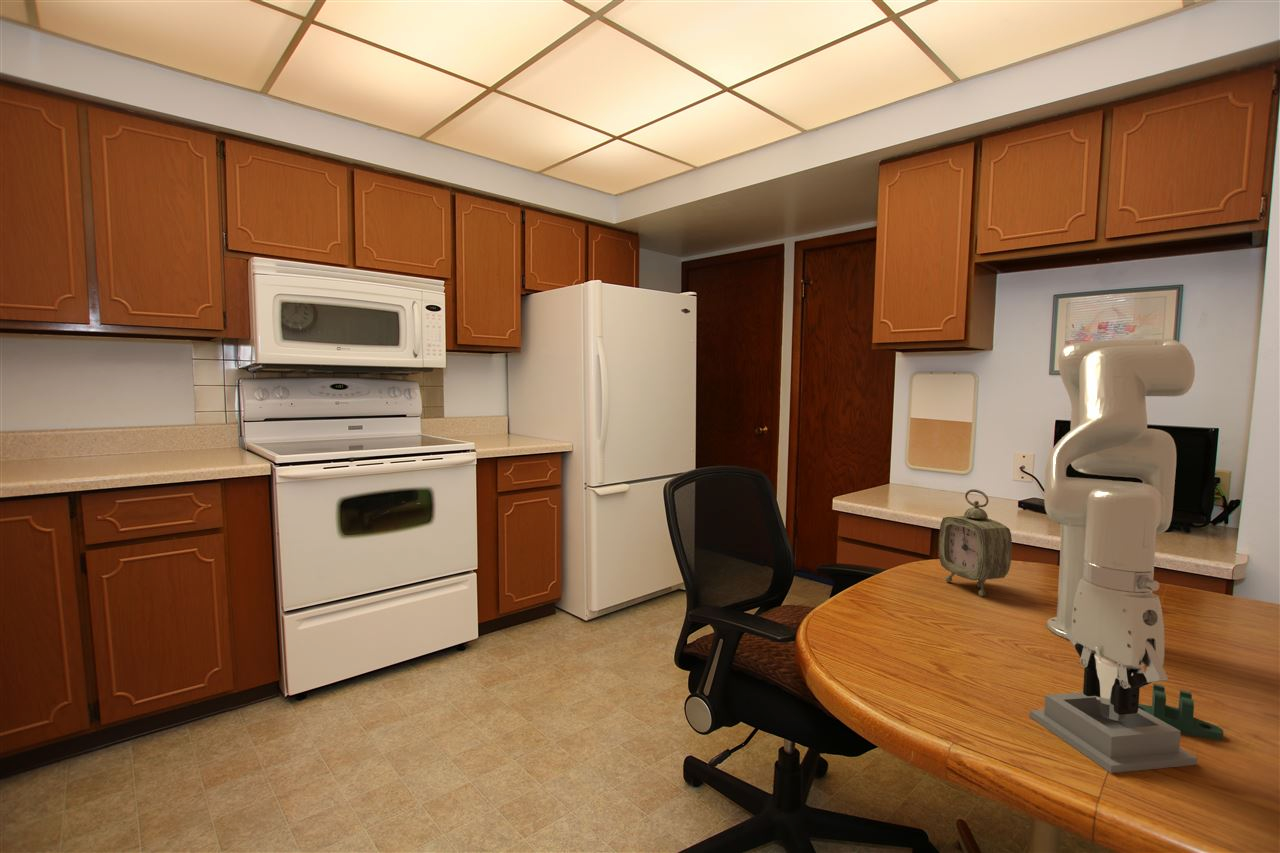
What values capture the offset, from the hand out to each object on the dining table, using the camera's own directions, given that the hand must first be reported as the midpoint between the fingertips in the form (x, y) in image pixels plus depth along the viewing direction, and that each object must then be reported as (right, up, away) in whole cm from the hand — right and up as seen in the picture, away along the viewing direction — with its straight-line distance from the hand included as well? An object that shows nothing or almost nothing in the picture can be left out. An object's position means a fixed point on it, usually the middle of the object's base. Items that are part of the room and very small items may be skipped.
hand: (1109, 702), depth 82 cm
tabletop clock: (+17, -2, +63) cm, 66 cm away
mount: (+13, -6, +4) cm, 14 cm away
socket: (0, -5, 0) cm, 5 cm away
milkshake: (0, -2, 0) cm, 2 cm away
